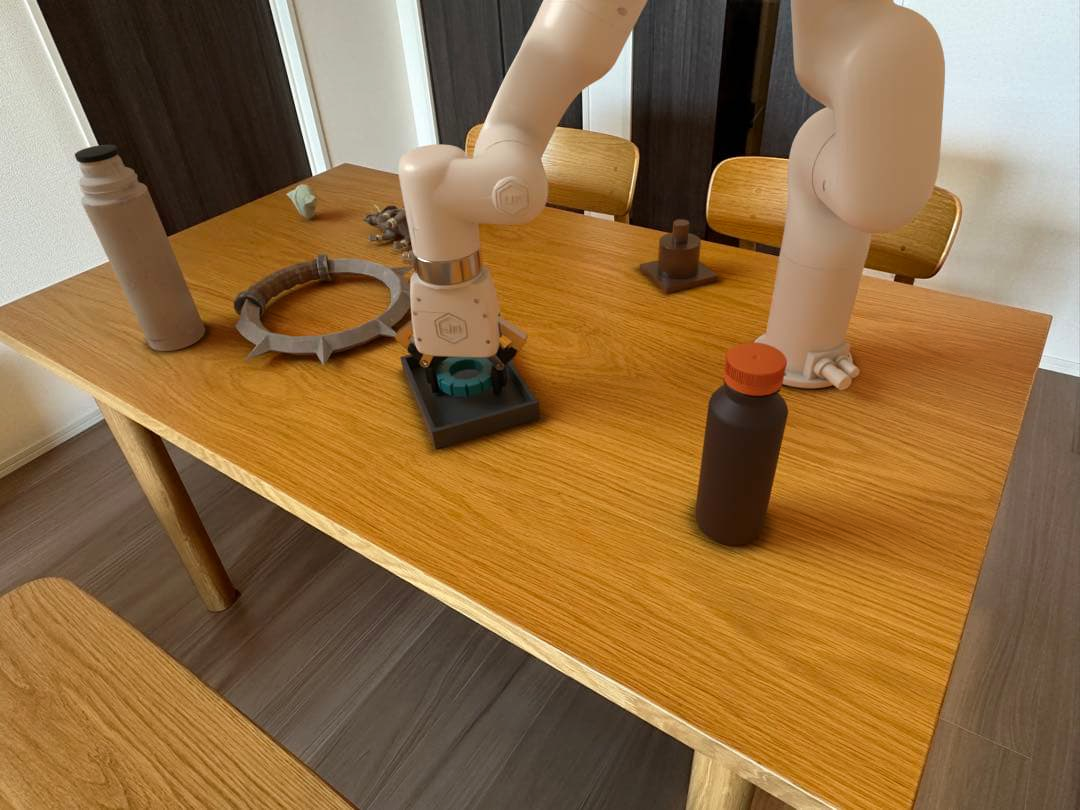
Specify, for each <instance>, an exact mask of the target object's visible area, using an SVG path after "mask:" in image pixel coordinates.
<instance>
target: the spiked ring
mask: <svg viewBox="0 0 1080 810" xmlns="http://www.w3.org/2000/svg"><path fill="white" fill-rule="evenodd" d="M413 269H414V267H413V265H406V266H394V267H388V266H387V265H383V264H381V263H378V262H375V261H371V260H367V259H360V258H359V259H358V258H352V257H351V258H329V257H328V255H327V253H321V254H317V255H316V258H315V259H309V260H306V261H301V262H300V261H299V262H295V263H292V264H290V265H289V266H285V267H281V268H278V269H276V270H275V271H274V272H272V273H270V274H267V275H265V276H262V277H261V278H260V280H258V281H256V282H254V283H253V284H251V285H250V286H249V287H248V288H247V289H246V290H243V291H241V292H240V291H239V292H238V293H237V295H236V296H235V298H234V300H233V310H234V311H235V313H236V314H237V315H238V316H239V319H238V320H237V322H236V323H235V325H234V327H235V329H236V330H237V331H238V333H240V335H241V336H242V337H244V338H245V339H246V340H247V341H249V342H251V343H252V344H254V345H256V346H254V348H253V349H252V351H251V352H250V353H249V354H248V355H247V356H246V358H245V359H244V360H243V361H244V362H246V361H249V360H251V359H254V358H257V357H260V356H264V355H266V354H269V353H272V352H277V353H282V354H288V355H294V356H315V355H317V357H318V359H319V361H320V362H321V364H322V366H323V367H325V365H326V363H327V361H328V360H329V357H330V356H331V355H332V354H335V353H340V352H344V351H348V350H351V349H355V348H358V347H360V346H363V345H366V344H368V343H369V342H372V341H373V340H376V339H378V338H380V337H385V338H395V335H396V333H397V332H396V331H395V330H394V329H393V328H394V326H395V325H396V324H398V323H399V322H400V321H401V320H402V319H403V317H404V316H405V315H406V313H407V312H408V311H409V310H410V309H411V301H410V283H409V281H408V280H407V279H406V278H405V277H404V276H405V275H406V274H408V273H409V272H411V271H412V270H413ZM349 276H350V277H351V276H353V277H361V278H362V277H363V278H370V279H373V280H377V281H380V282H382V283H384V284H385V286H387V288H388V289H389V292H390V303H389V306H388V307H387V308H386V310H385V311H383V312H382V313H381V314H379V315H378V316H376V317H375V318H373V319H370V320H369V321H366V322H364V323H362V324H360V325H358V326H355V327H352V328H349V329H344V330H342V331H338V332H333V333H327V334H320V335H301V336H300V335H299V336H293V335H287V334H286V335H285V334H281V333H280V334H279V333H274V332H271V331H270V330H268V329H267V328H266V327H265V326H264V325H263V323H262V321H261V319H260V318H261V317H262V316H263V315H264V314H265V312H266V308H267V307H266V306H267V304H268V303H269V302H270V301H271V300H272V298H276V297H277V296H279V295H280V294H281V293H283V292H284V291H290V290H291V289H292V288H294V287H296V286H298V285H300V286H302V285H304V284H307V283H309V282H311V281H319V280H320V281H321V283H326V282H327V283H329V282H331V281H332V280H333V279H332V277H349Z"/></svg>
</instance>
